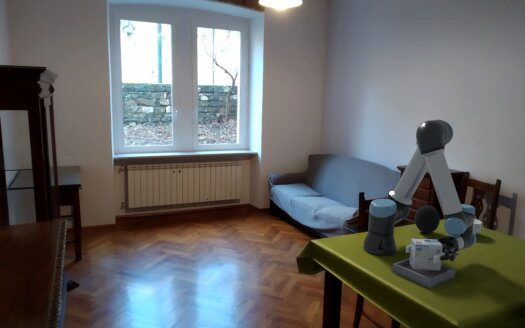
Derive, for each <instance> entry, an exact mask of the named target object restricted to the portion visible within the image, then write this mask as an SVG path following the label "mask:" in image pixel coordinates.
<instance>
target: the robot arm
mask: <svg viewBox="0 0 525 328" xmlns="http://www.w3.org/2000/svg"><path fill="white" fill-rule="evenodd" d="M453 137H454V130H453V127H452V125H451V124H450V123H449V122H448V121H445V120H442V119H434V120H430V119H429V120H426V121H424V122H422V123H420V125H419V126H418V127H417V128H416V132H415V138H416V142H415V144H416V146H417V147H416V150H415V151H414V153H413V155H412V157H411V159H410V160H409V162H408V164H407V166H406V168H405V169H404V170H403V173H402V175H401V177H400V179H399V181H398V182H397V184H396V186H395V188H394V190H393V189H392V190H390V191H389V192H388V194H387V196H386V198H377V199H374V200H372V201H370V205H369V209H368V213H369V214H368V226H367V227H368V230H367V233H366V237H365V239H364V241H363V243H362V244H363V245H362V248H363V250H364V252H367V253H369V254H372V255H376V256H383V257H384V256H386V257H387V256H388V257H390V256H394V255H396V253H397V244H396V239H395V227H396V224H397V223H399V222H401V221H403V220H404V219H406V218H407V217H408V215H409V214H410V210H411V206H412V205H413V201H412V198H413V195H414V194H415V193H416V191H417V189H418V188H419V186H420V183H421V181H422V180H423V178H424V176H425V174H426V173H427V171H428V172H429V176H430V178H431V181H432V184H433V186H434V191H435V192H436V193H435V194H436V197H437V199H438V203H439V205H440V208H441V210H442V214H443V217H444V218H443V219H444V220H445V221H444V225H443V227H444V231H445V232H446V233H447V235H445V236H441V237H440V238H439V239H437V240H438V241H439V242H440V243H441V244H442V245H443V246H442V253H441V254H438V255H435V256H434V257H433V263H437V262H440V261H441V262H444V261H450V262H454V261H455V260H456V257H457V256H458V255H459V254H460V251H462V250H464V249H469V248H470V247H472V246H474V245H475V244H476V242H477V236H476V235H475V234H474V233H473V225H474V219H475V217H476V208H475V207H474V205H471V204H463V203H461V201H460V197H459V195H458V192H457V190H456V186H455V183H454V180H453V177H452V174H451V172H450V171H451V170H450V168H449V165H448V162H447V159H446V156H445V153H444V152H445V150H446V146H447V144H449V143H450V142H451V141H452V139H453ZM410 249H411V244H409V245H406V246H405V253H407V254H410Z"/></svg>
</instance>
